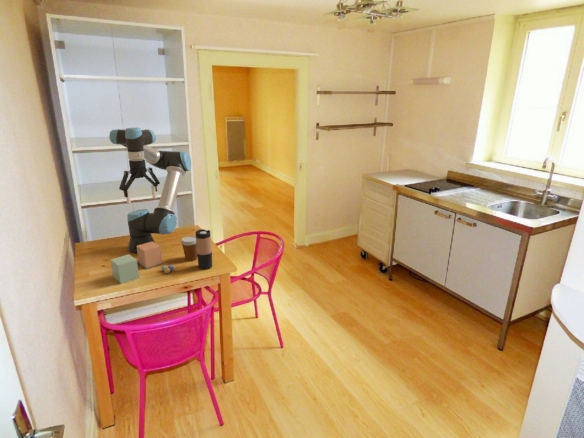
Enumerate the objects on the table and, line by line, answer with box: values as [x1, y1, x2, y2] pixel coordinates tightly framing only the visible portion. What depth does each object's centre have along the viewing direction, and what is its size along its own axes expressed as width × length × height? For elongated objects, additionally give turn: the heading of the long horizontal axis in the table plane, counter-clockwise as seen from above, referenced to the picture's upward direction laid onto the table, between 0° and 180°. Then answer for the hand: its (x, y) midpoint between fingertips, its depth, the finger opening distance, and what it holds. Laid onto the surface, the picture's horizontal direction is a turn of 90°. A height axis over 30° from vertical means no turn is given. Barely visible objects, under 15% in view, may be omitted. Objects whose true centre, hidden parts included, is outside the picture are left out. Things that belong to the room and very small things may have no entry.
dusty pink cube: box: [136, 241, 163, 269], centre depth 199 cm, size 9×9×10 cm
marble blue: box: [167, 264, 175, 272], centre depth 193 cm, size 3×3×3 cm
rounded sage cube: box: [110, 253, 140, 285], centre depth 184 cm, size 9×9×10 cm
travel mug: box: [195, 229, 213, 271], centre depth 195 cm, size 8×8×20 cm
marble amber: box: [163, 267, 171, 274], centre depth 190 cm, size 3×3×3 cm
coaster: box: [137, 261, 164, 270], centre depth 201 cm, size 10×10×1 cm
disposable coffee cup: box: [180, 235, 198, 262], centre depth 205 cm, size 10×10×12 cm
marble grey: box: [160, 265, 168, 272], centre depth 192 cm, size 3×3×3 cm
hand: (142, 200), depth 192 cm, fingers open, 13 cm apart
